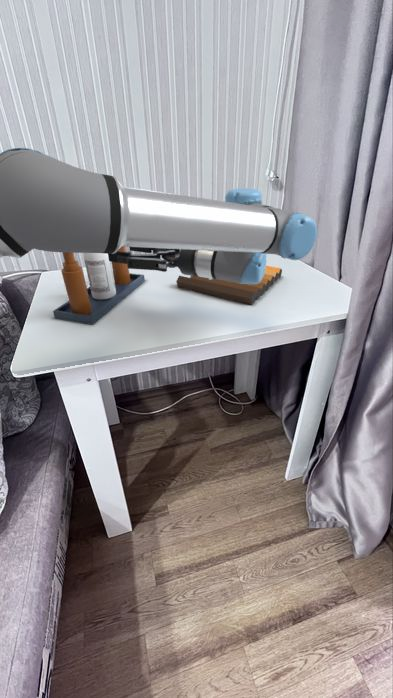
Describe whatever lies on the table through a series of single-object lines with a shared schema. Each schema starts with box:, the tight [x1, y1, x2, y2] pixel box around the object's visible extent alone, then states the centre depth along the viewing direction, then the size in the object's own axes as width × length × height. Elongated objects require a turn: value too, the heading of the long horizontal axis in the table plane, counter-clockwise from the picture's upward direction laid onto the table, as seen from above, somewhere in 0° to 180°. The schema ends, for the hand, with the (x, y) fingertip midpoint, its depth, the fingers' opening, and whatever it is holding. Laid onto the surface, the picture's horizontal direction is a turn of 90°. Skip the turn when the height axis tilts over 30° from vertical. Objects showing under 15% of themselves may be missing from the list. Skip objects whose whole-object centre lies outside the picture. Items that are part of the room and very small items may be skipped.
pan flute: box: [175, 265, 283, 306], centre depth 103 cm, size 25×3×25 cm
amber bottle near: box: [61, 252, 92, 315], centre depth 81 cm, size 5×5×18 cm
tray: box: [52, 272, 146, 326], centre depth 95 cm, size 30×12×2 cm, turn 162°
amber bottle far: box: [111, 246, 131, 285], centre depth 98 cm, size 5×5×18 cm
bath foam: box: [83, 253, 116, 300], centre depth 89 cm, size 7×7×20 cm
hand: (120, 250), depth 84 cm, fingers open, 9 cm apart
